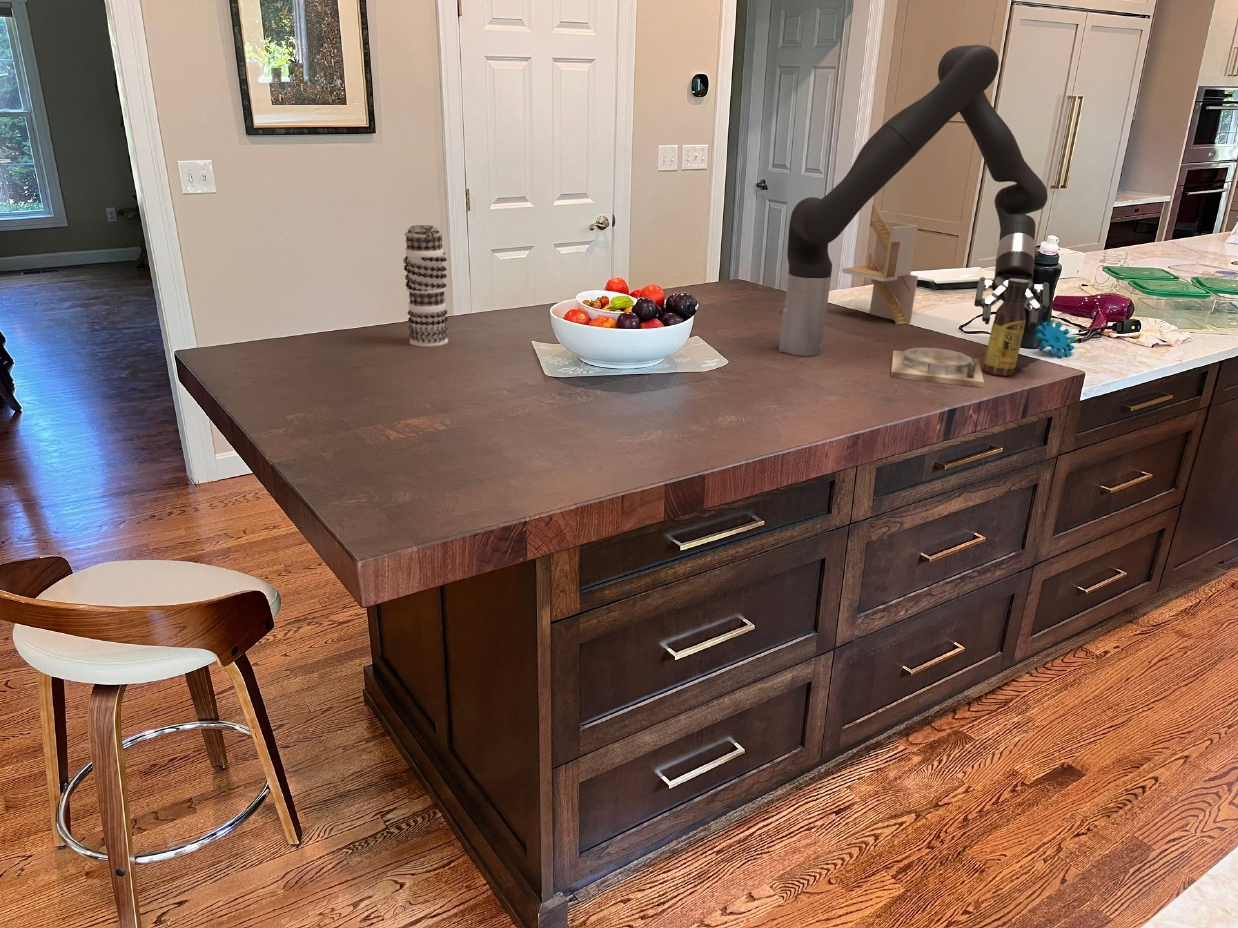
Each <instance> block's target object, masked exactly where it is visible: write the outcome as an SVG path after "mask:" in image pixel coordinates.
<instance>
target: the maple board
mask: <svg viewBox="0 0 1238 928" xmlns="http://www.w3.org/2000/svg"><path fill="white" fill-rule="evenodd" d="M904 352H905V350H903V351H901V350H893V351H892V359H891V367H890V368H891V369H890V370H891V371H890V378H895V379H904V380H913V381H920V382H929V383H937V384H938V383H939V384H946V385H947V384H948V385H957V386H963V385H967V386H966V387H972V386H974V388H981V387H984V384H985V381H984V377H983V373H982V369H981V365H980V362H979V359H977V358H971V359H972V362H974V363H976V368H975V374H974V378H967V373H964V374H958V375H942V374H933V373H926V372H922V371H919V370H915V369H911V368H910V367H908V366H906V365H904V364H903V358H904ZM916 359H919V360H923V361H927V362H931V363H940V364H958V363H956V362H952V361H948V360H944V359H936V358H916Z"/></svg>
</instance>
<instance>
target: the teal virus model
mask: <svg viewBox="0 0 1238 928" xmlns="http://www.w3.org/2000/svg"><path fill="white" fill-rule="evenodd" d="M1049 319H1050V323H1049V325H1048V324H1047V321H1046V322H1044V323H1043V322H1042V326H1041V325H1040V324H1039V325H1038V326H1037V327H1036V328H1035V331H1036V332H1038V333H1037V334H1036V337H1035V338H1036V340H1038V341H1039V340H1042V342H1041V343H1040V344H1039V345H1040V346H1041V348H1040V349H1038V351H1040V352H1042V351H1043V350H1044V349H1046V348H1047V347H1048V348H1049V347H1050V349H1049V350H1047V354H1049V355H1050V356H1053V355H1054V354H1056V355H1055V357H1056V358H1058V359H1062V358H1063V357H1065V358H1066V357H1069V356H1071V355H1072V351H1073V350H1074V349H1075V346H1074V345H1073V343H1074V342H1076V341H1077V340H1078V337H1077V336H1076V335H1074V336H1068V335H1069V334H1070V333H1071V331H1070V330H1069V328H1065V329H1060V328H1061V327H1063V323H1062V322H1060V321H1057V322H1056V323H1055V320H1054V319H1052V318H1049ZM1054 323H1055V325H1054V326H1053V324H1054ZM1056 351H1057V353H1056Z"/></svg>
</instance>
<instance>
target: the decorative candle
mask: <svg viewBox="0 0 1238 928" xmlns="http://www.w3.org/2000/svg"><path fill="white" fill-rule="evenodd" d="M403 235H404V236H405V244H406V247H405V256H404V258H403V263H404V265H403V271H405V272H406V274H405V275H404V277H405V278H404V279H405V288H406V291H408V297H409V302H408V311H407V315H408V316H409V317H408V319H407V321H408V322H409V323H410V324H409V325H408V327H407V328H408V331H409V333H408V337H409V338H410V340H409V344H411V345H412V346H415V347H424V348H426V347H427V348H428V347H429V348H430V347H431V348H432V347H440V346H444V345H446V344H448V342H449V338H448V336H449V332H448V330H449V325H448V324H447V323H446V322H448V319H449V318H448V317H447V316H446V315H448V310H447V309H446V307H447V306H446V300H445V291H447V283H445V282H444V279H446V278H447V274H446V273H444V272H446V271H447V267H446V266H444V265H443V263H445V262H447V261H448V259H447V258H446V256H444V255H446V252H444V248H443V236H444V233H442V232H440V230H439V229H438V227H437V226H435V225H430V224H429V225H428V224H427V225H426V224H425V225H423V224H421V225H420V224H419V225H418V224H417V225H412V226H410V227H409V228H408V230H407V232H405V233H404V234H403Z"/></svg>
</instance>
